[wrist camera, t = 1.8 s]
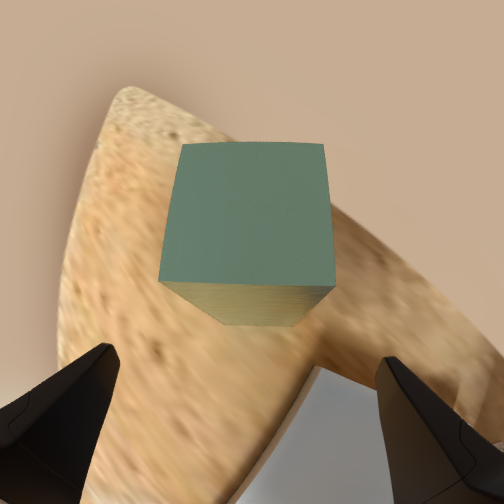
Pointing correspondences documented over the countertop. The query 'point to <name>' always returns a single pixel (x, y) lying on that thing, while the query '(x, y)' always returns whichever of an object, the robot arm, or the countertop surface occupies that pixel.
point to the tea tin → (250, 231)
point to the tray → (323, 449)
